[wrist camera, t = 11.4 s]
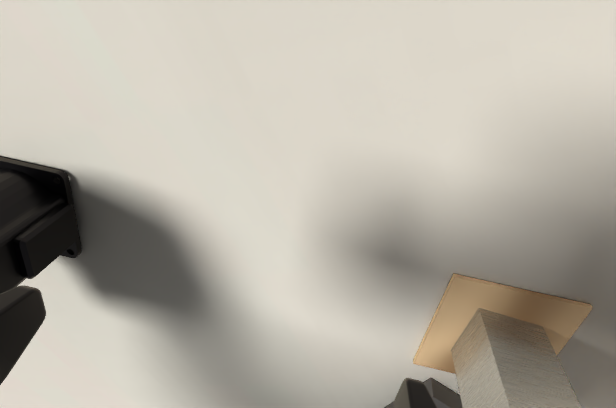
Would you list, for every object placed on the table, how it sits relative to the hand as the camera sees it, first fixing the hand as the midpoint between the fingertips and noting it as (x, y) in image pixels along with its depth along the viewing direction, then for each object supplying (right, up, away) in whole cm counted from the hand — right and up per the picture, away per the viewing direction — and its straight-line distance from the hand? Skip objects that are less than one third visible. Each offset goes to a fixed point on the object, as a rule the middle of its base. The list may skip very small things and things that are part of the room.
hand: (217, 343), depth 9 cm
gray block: (+14, -5, +15) cm, 21 cm away
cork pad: (+14, -5, +16) cm, 22 cm away
